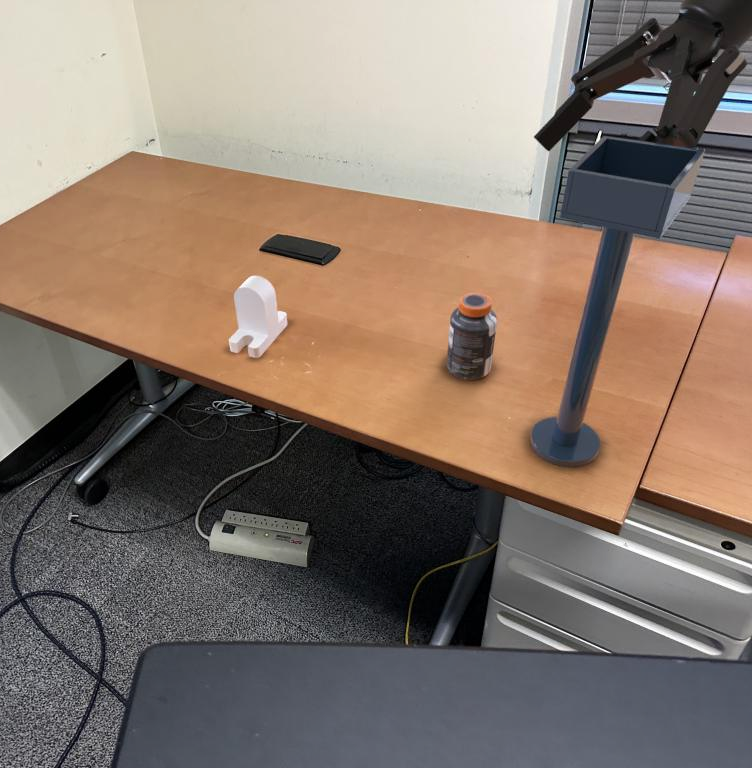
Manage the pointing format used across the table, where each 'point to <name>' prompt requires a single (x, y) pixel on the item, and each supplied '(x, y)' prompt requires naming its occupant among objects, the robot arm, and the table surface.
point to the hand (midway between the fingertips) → (570, 165)
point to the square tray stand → (610, 263)
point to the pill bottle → (471, 337)
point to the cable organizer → (256, 317)
